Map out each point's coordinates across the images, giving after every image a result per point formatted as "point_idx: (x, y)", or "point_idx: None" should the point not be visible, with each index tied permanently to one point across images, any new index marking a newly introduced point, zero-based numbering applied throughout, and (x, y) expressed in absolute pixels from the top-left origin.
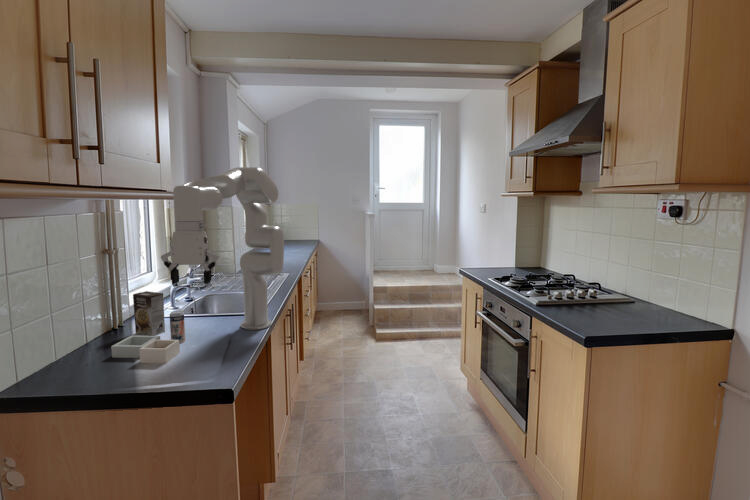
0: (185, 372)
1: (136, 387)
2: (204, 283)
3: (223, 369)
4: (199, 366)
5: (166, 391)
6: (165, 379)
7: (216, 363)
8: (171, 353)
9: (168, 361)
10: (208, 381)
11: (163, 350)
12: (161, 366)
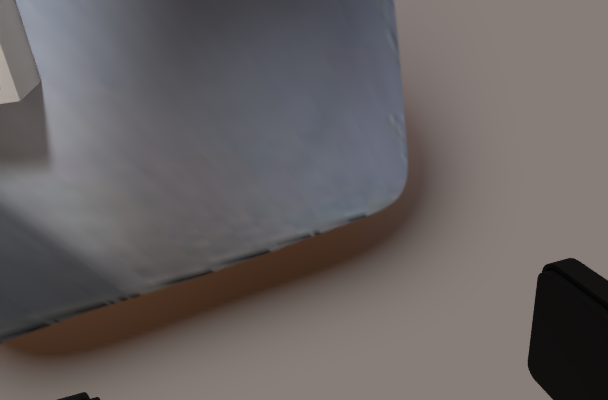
0: (187, 127)
1: (95, 270)
2: (533, 368)
3: (329, 70)
4: (209, 59)
5: (224, 264)
6: (152, 197)
7: (268, 13)
8: (12, 32)
9: (31, 62)
10: (322, 175)
11: (8, 100)
12: None
